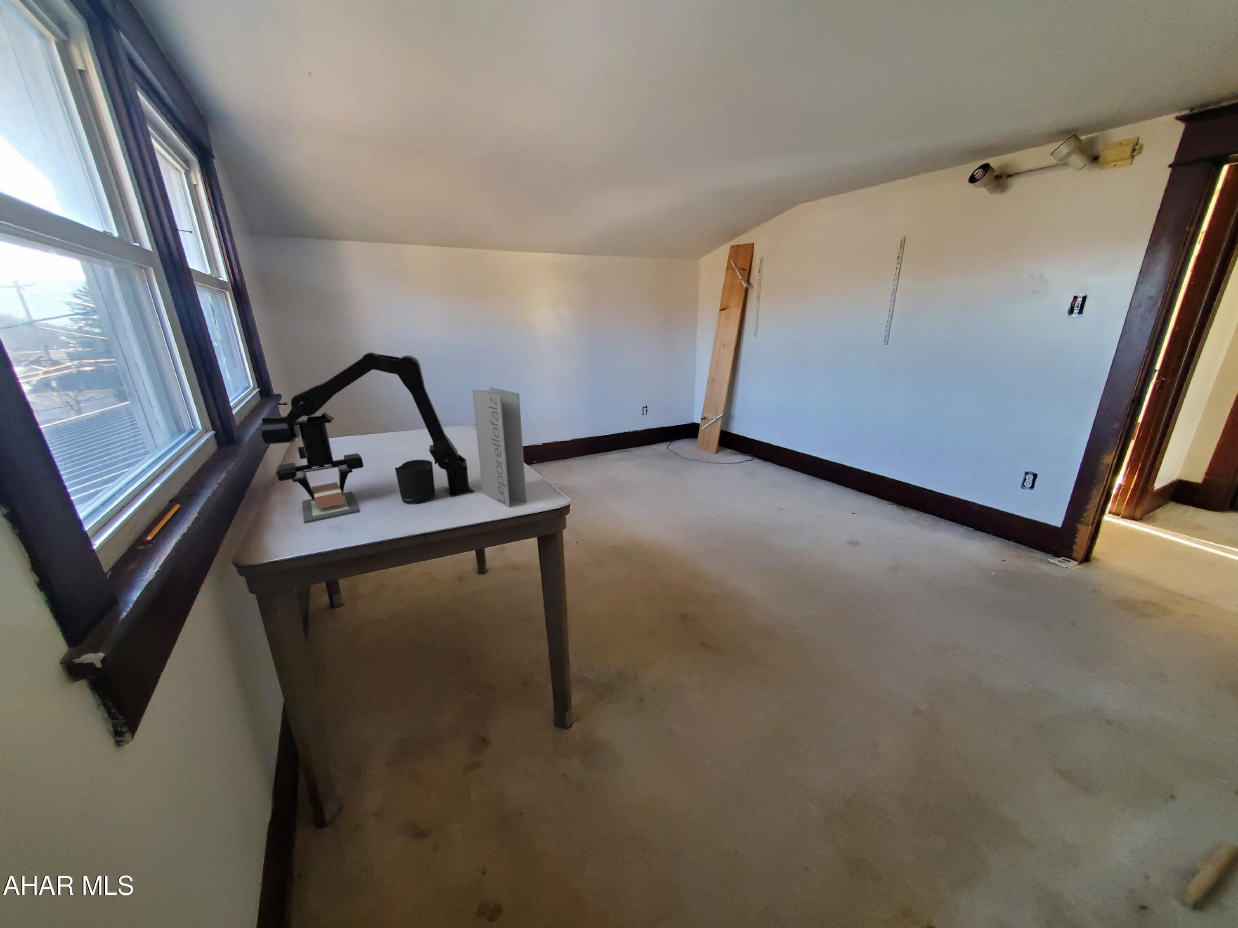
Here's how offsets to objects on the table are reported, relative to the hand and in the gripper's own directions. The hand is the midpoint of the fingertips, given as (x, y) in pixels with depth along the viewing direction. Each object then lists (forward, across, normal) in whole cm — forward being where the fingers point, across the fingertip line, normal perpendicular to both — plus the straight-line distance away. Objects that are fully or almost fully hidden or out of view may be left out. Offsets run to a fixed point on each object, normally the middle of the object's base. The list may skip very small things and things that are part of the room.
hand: (328, 496), depth 122 cm
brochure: (+3, -41, +20) cm, 46 cm away
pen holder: (+3, -21, +7) cm, 22 cm away
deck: (+1, 0, 0) cm, 1 cm away
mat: (+3, 0, 0) cm, 3 cm away
